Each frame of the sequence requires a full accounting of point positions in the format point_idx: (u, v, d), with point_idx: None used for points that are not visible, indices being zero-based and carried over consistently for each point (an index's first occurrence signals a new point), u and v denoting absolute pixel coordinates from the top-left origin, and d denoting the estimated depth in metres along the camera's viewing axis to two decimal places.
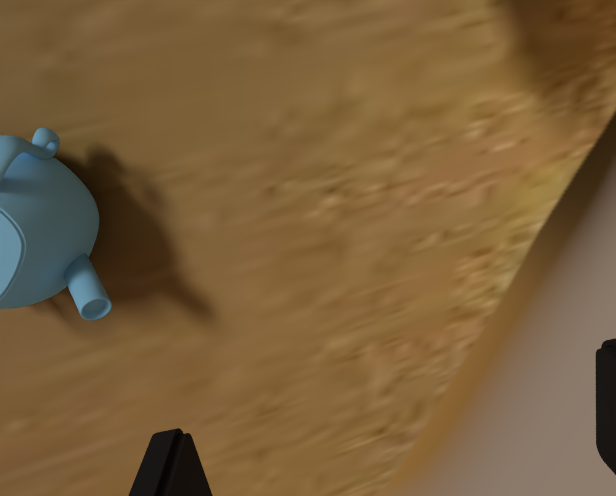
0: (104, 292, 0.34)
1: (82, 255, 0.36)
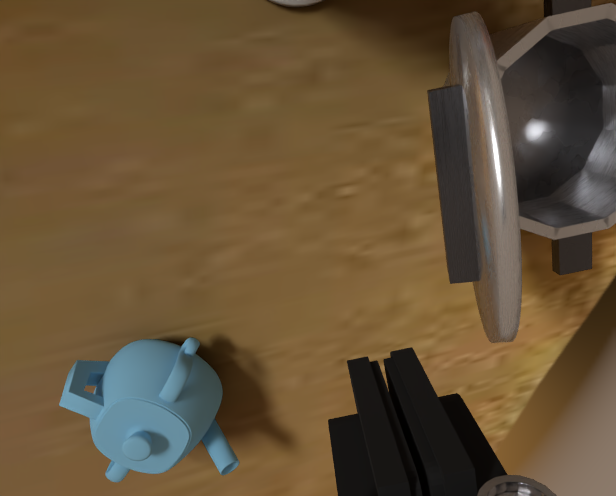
0: (234, 454, 0.48)
1: (213, 422, 0.50)
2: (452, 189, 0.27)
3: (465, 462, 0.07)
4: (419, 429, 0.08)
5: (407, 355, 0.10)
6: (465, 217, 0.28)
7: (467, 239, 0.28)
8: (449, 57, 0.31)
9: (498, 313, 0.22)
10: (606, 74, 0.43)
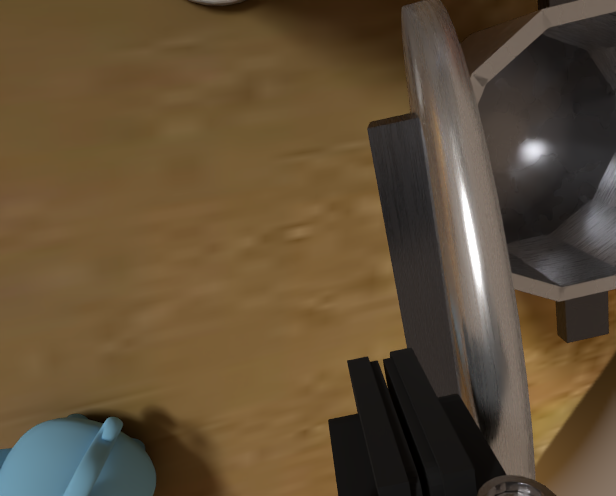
0: None
1: None
2: (413, 274, 0.18)
3: (464, 462, 0.07)
4: (419, 429, 0.08)
5: (407, 355, 0.10)
6: (435, 313, 0.18)
7: (439, 344, 0.19)
8: (405, 69, 0.21)
9: None
10: None
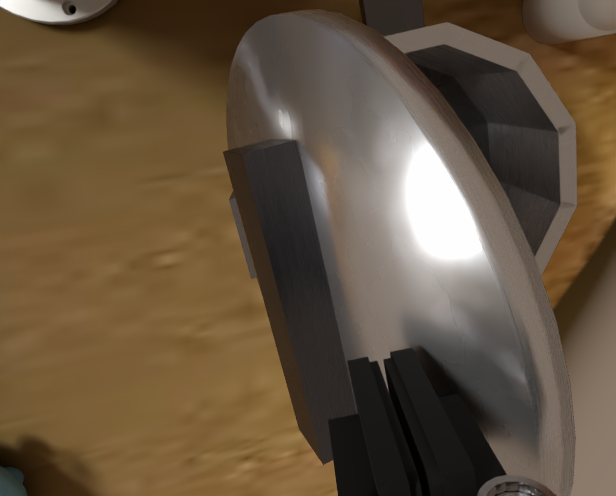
0: None
1: None
2: (306, 316, 0.16)
3: (464, 462, 0.07)
4: (419, 429, 0.08)
5: (407, 355, 0.10)
6: (331, 355, 0.16)
7: (338, 388, 0.17)
8: (228, 100, 0.19)
9: None
10: (486, 110, 0.32)
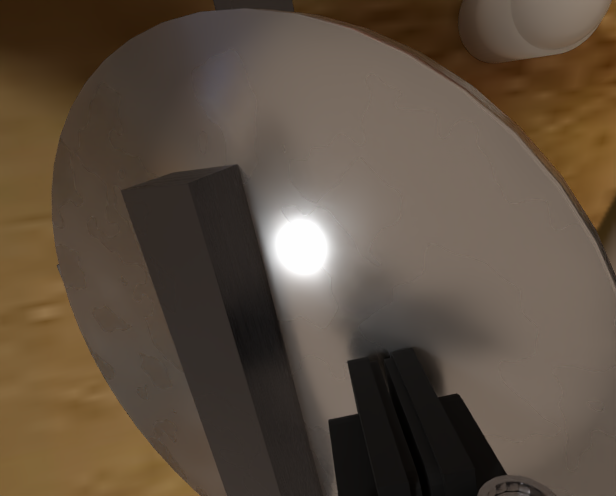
0: None
1: None
2: (267, 380, 0.13)
3: (465, 462, 0.07)
4: (419, 429, 0.08)
5: (407, 355, 0.10)
6: (292, 419, 0.14)
7: (302, 457, 0.14)
8: (65, 135, 0.15)
9: None
10: None
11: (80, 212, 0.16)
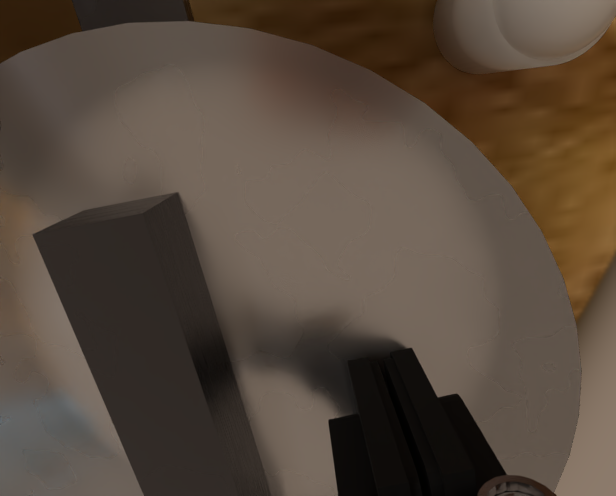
0: None
1: None
2: (232, 430, 0.11)
3: (465, 462, 0.07)
4: (419, 429, 0.08)
5: (407, 355, 0.10)
6: (256, 469, 0.12)
7: None
8: None
9: None
10: None
11: None
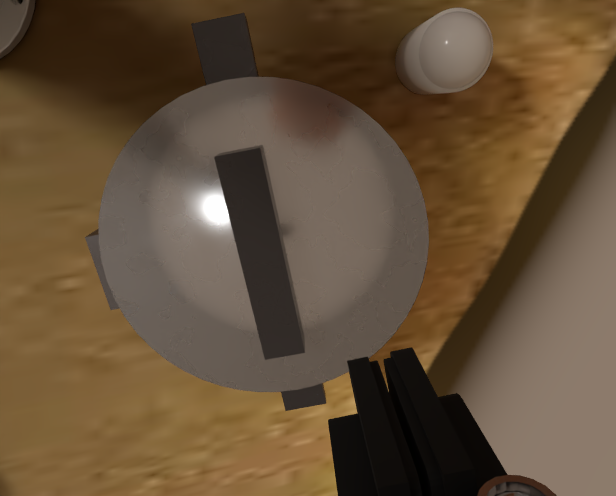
0: None
1: None
2: (283, 250, 0.25)
3: (465, 462, 0.07)
4: (419, 429, 0.08)
5: (407, 355, 0.10)
6: (290, 276, 0.27)
7: (295, 299, 0.27)
8: (134, 138, 0.25)
9: (417, 291, 0.28)
10: None
11: (134, 187, 0.25)
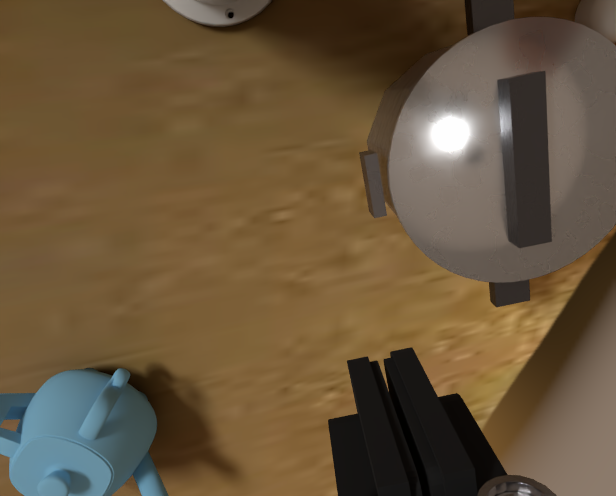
0: (164, 491, 0.46)
1: (146, 455, 0.48)
2: None
3: (465, 462, 0.07)
4: (419, 429, 0.08)
5: (407, 355, 0.10)
6: None
7: None
8: (432, 68, 0.31)
9: None
10: None
11: (425, 109, 0.32)
